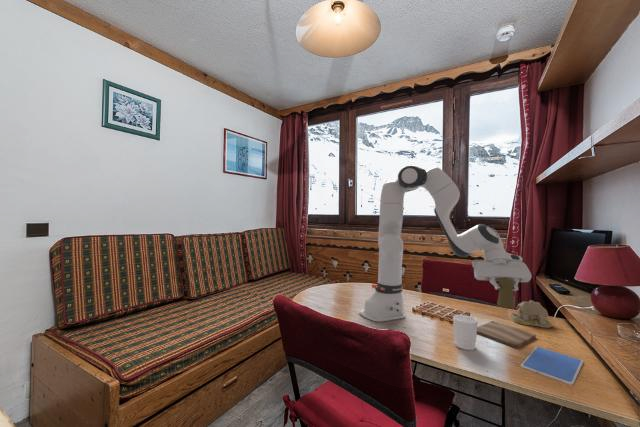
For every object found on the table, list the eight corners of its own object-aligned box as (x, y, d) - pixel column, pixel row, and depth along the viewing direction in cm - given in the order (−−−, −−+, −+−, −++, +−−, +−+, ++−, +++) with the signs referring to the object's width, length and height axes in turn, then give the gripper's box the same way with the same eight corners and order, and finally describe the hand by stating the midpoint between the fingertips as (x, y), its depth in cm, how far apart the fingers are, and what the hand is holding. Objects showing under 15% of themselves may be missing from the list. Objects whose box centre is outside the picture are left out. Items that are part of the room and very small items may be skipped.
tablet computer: (572, 387, 79) (572, 383, 79) (519, 368, 89) (519, 364, 89) (583, 363, 91) (583, 359, 91) (536, 349, 101) (536, 345, 101)
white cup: (476, 353, 97) (476, 324, 97) (451, 347, 101) (452, 319, 101) (477, 344, 103) (478, 317, 103) (454, 339, 108) (454, 313, 108)
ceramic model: (541, 319, 128) (541, 297, 128) (557, 329, 117) (557, 305, 117) (507, 316, 131) (507, 295, 131) (519, 326, 120) (520, 303, 120)
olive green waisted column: (512, 304, 113) (512, 277, 113) (517, 309, 107) (517, 280, 107) (495, 302, 115) (495, 276, 115) (499, 307, 109) (499, 279, 109)
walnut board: (516, 348, 100) (516, 345, 100) (472, 331, 114) (472, 329, 114) (535, 337, 109) (535, 334, 109) (492, 323, 123) (492, 320, 123)
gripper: (472, 255, 120) (480, 283, 110) (525, 256, 115) (539, 286, 106) (468, 263, 124) (476, 291, 114) (520, 265, 120) (532, 295, 110)
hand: (507, 289), depth 110 cm, fingers closed on olive green waisted column, 5 cm apart
